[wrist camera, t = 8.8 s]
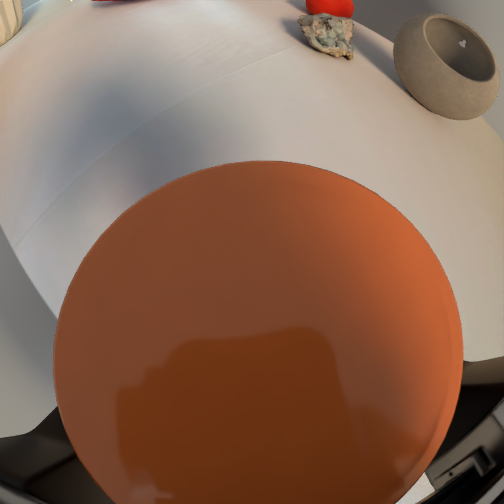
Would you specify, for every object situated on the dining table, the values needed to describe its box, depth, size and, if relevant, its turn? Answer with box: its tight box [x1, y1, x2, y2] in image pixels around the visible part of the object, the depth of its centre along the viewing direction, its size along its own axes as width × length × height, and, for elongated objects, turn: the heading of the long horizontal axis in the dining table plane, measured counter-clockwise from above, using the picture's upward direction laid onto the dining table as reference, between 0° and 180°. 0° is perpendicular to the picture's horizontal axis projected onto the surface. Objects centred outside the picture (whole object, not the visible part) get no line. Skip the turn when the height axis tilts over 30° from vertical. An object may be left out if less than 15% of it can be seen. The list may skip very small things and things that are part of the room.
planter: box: [393, 12, 500, 120], centre depth 25 cm, size 18×7×19 cm, turn 48°
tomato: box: [306, 0, 354, 19], centre depth 38 cm, size 11×11×8 cm
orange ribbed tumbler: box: [53, 161, 463, 504], centre depth 9 cm, size 6×6×13 cm
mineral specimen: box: [297, 13, 354, 60], centre depth 33 cm, size 10×8×10 cm
